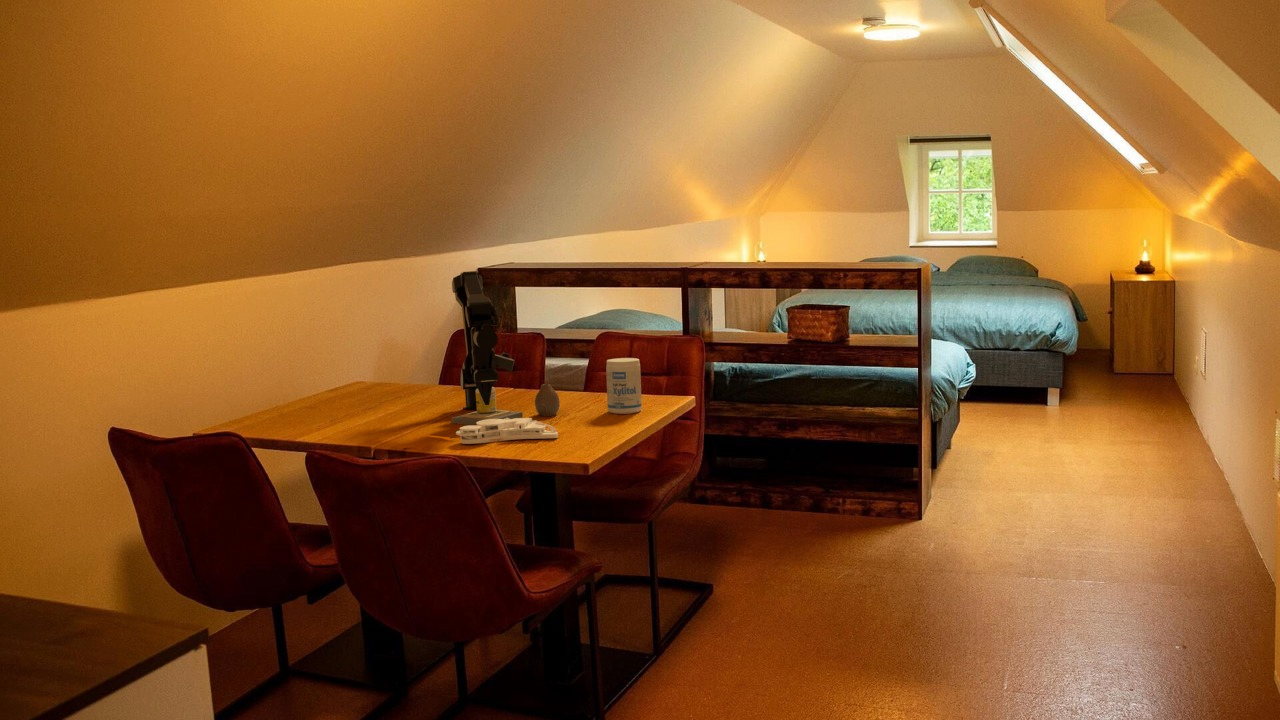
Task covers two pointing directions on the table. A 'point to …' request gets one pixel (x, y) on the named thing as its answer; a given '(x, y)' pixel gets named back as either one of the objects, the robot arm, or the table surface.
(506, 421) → the molded plastic bracket
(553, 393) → the vase
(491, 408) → the supplement bottle
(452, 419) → the grey square frame tile
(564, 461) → the table surface
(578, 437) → the table surface
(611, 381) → the supplement tub
